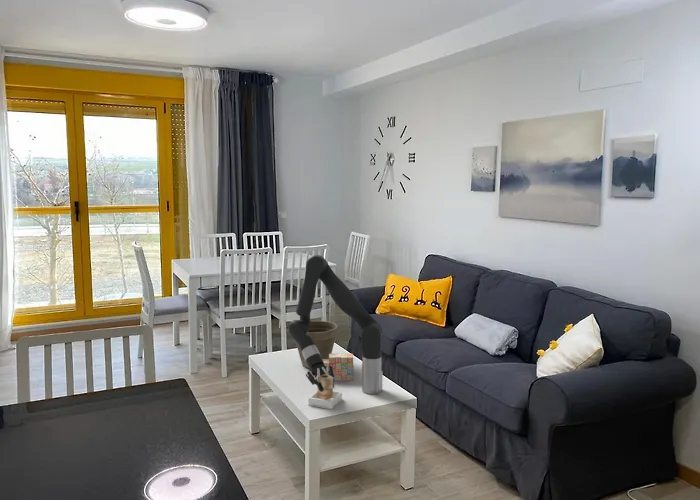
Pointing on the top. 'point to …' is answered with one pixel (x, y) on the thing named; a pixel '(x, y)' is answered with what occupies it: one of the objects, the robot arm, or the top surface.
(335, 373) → the stack of blocks
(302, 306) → the robot arm
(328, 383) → the oak block
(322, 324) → the plant pot
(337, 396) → the white tray
